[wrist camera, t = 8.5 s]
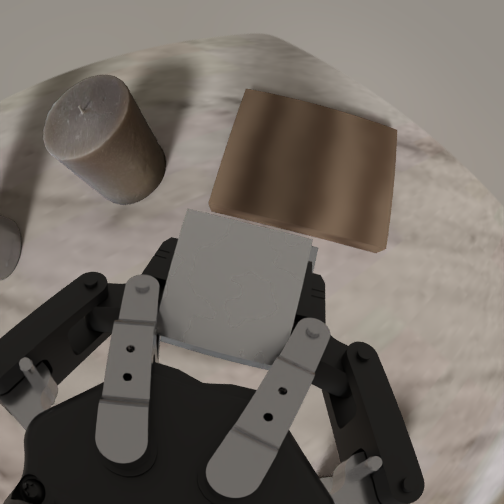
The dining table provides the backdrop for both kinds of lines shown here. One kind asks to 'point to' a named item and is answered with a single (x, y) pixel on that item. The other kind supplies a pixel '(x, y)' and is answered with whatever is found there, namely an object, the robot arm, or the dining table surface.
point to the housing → (233, 289)
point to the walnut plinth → (308, 171)
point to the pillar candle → (105, 140)
